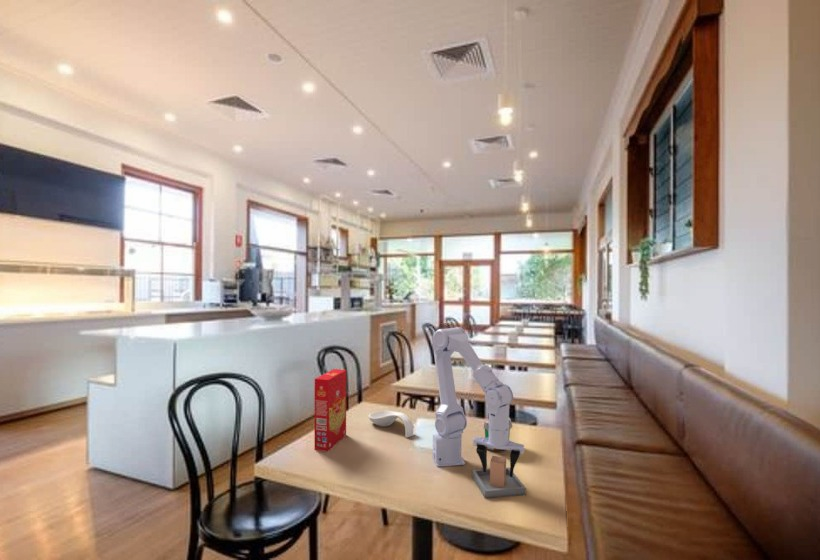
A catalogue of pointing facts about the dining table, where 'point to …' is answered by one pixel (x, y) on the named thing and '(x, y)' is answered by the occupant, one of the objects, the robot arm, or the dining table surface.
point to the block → (498, 471)
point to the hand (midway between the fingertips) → (498, 472)
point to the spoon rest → (392, 420)
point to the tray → (483, 481)
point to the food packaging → (330, 409)
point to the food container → (486, 427)
